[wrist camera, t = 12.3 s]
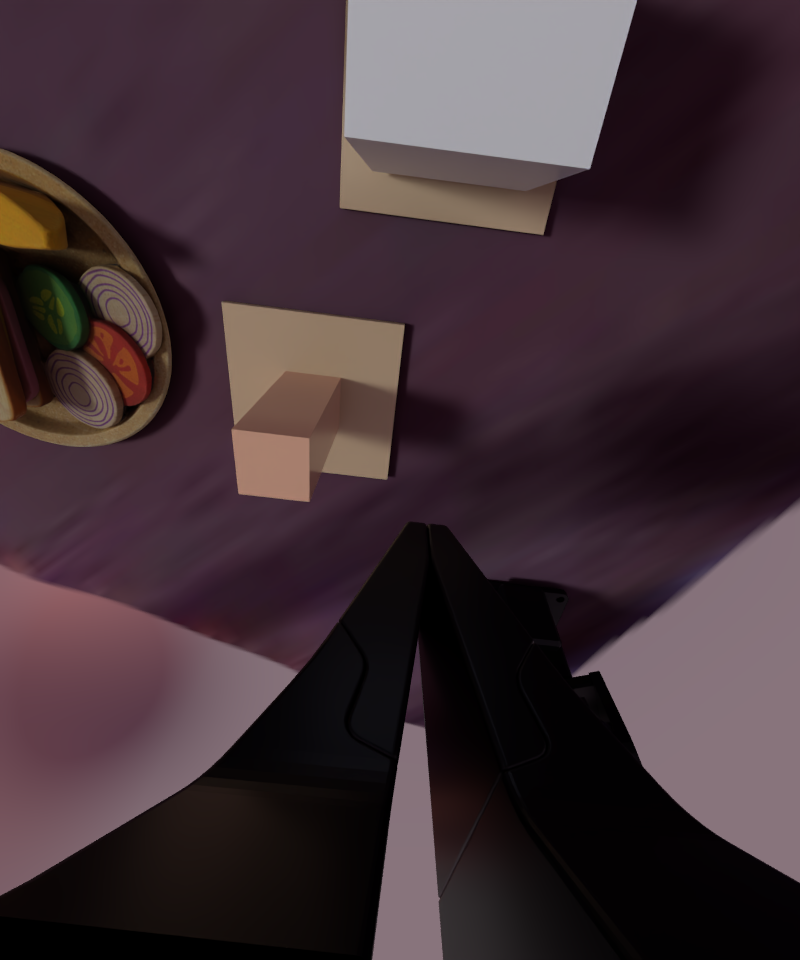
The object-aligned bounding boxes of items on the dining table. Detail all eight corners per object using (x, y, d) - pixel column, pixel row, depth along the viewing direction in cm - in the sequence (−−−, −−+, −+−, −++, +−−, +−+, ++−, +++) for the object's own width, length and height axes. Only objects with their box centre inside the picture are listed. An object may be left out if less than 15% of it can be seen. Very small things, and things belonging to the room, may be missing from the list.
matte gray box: (525, 191, 15) (589, 169, 9) (372, 171, 15) (344, 136, 9) (576, -41, 12) (713, -273, 6) (386, -68, 12) (358, -330, 6)
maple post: (540, 234, 17) (609, 238, 11) (341, 208, 16) (297, 197, 10) (617, -74, 12) (802, -354, 6) (351, -115, 12) (287, -442, 6)
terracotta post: (387, 475, 23) (376, 564, 17) (241, 458, 22) (176, 542, 17) (404, 323, 19) (398, 369, 13) (225, 300, 18) (131, 335, 12)
